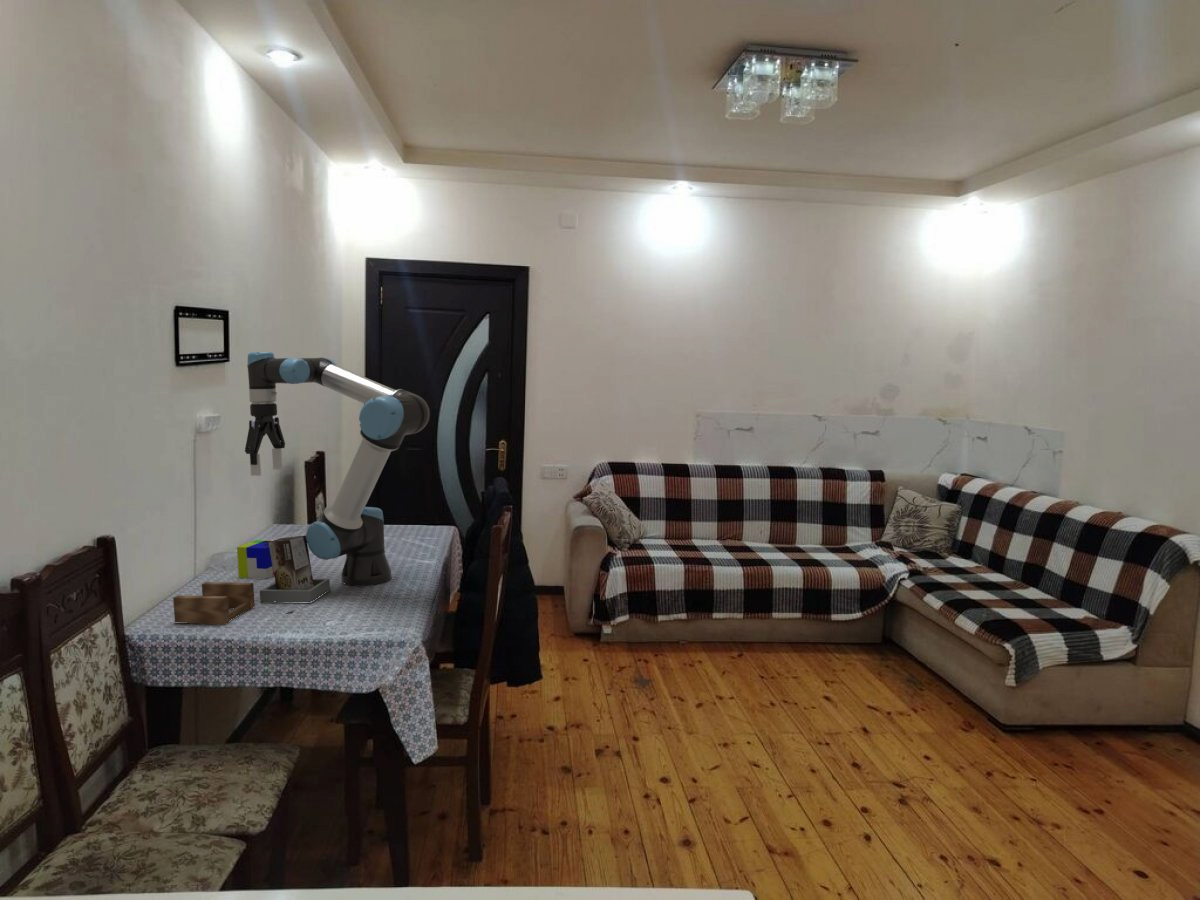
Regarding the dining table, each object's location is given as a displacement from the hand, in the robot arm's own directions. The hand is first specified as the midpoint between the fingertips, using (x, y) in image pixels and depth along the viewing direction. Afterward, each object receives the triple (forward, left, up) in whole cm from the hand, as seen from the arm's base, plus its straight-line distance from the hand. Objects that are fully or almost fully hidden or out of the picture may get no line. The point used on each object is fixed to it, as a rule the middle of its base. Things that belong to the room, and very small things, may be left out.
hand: (267, 472), depth 248 cm
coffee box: (-14, +14, -34) cm, 39 cm away
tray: (-14, +14, -35) cm, 40 cm away
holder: (0, +32, -35) cm, 47 cm away
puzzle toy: (+9, -10, -35) cm, 38 cm away
